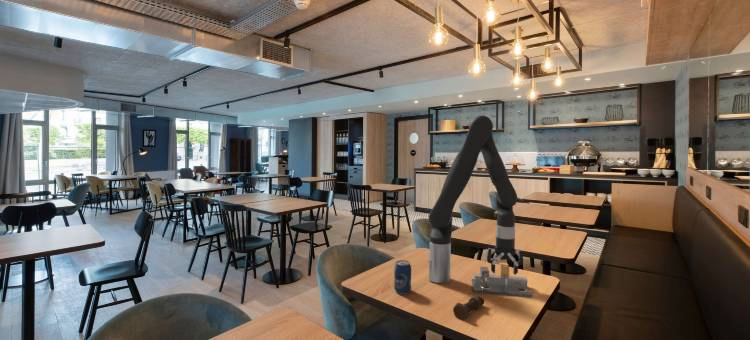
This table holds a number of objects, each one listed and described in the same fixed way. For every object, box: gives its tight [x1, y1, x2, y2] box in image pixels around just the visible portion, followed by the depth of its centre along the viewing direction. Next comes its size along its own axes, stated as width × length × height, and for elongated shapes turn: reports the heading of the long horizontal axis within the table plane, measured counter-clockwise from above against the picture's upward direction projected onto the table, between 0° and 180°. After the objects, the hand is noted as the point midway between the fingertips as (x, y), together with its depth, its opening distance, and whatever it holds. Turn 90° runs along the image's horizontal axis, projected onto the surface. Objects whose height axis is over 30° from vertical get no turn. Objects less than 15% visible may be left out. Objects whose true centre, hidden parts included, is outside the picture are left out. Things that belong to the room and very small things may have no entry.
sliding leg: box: [498, 262, 510, 287], centre depth 143 cm, size 3×8×7 cm, turn 170°
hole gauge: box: [471, 266, 533, 298], centre depth 142 cm, size 22×12×7 cm, turn 80°
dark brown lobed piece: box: [452, 295, 485, 321], centre depth 123 cm, size 6×5×15 cm
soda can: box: [393, 260, 412, 295], centre depth 139 cm, size 7×7×12 cm
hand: (504, 273), depth 144 cm, fingers open, 8 cm apart
